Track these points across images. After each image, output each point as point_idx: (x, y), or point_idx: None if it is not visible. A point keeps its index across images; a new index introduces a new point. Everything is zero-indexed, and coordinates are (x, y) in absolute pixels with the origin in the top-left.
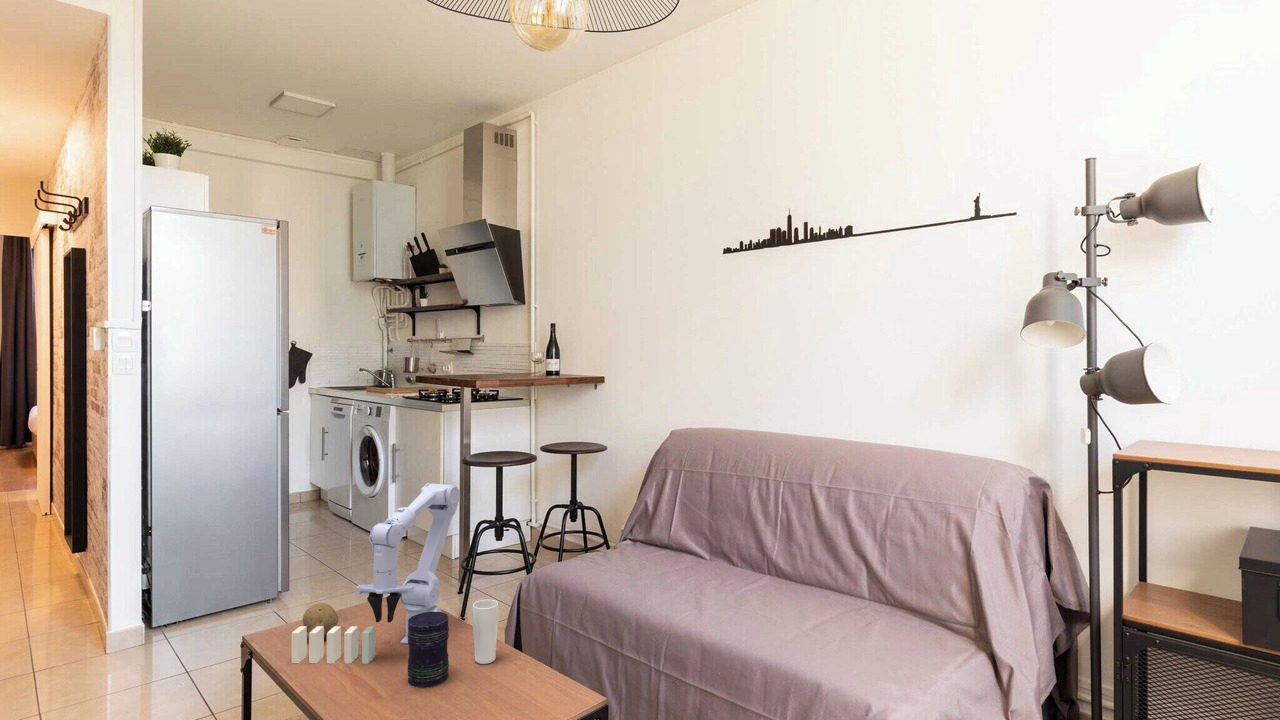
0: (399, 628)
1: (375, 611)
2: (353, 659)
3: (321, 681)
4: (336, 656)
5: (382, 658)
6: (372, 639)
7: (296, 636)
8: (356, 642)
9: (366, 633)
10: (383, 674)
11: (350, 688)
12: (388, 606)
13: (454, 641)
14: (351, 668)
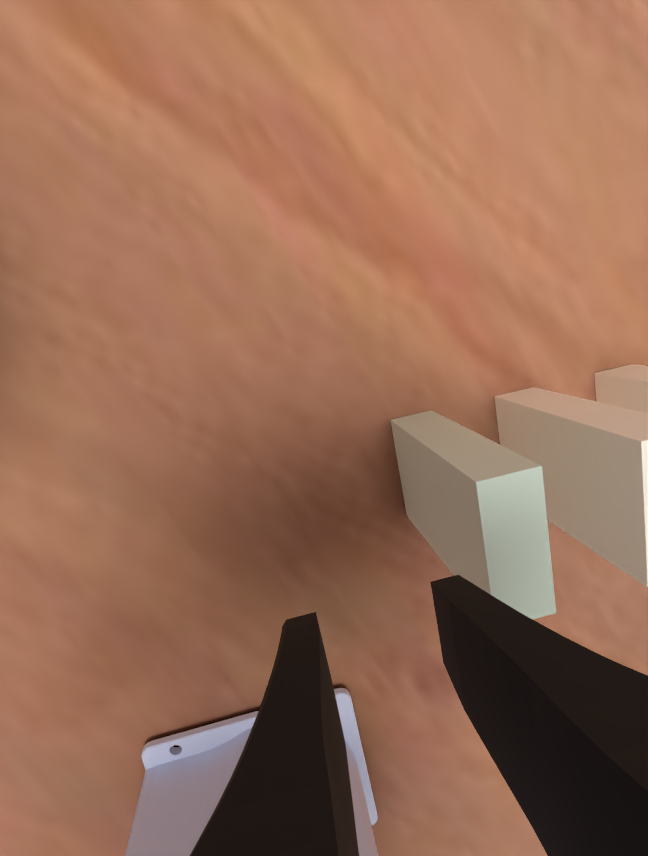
0: (460, 832)
1: (543, 653)
2: (502, 429)
3: (545, 131)
4: None
5: (346, 499)
6: (447, 526)
7: None
8: (560, 502)
9: (496, 475)
10: (206, 301)
11: (305, 61)
12: (304, 811)
13: (38, 804)
14: (458, 336)
